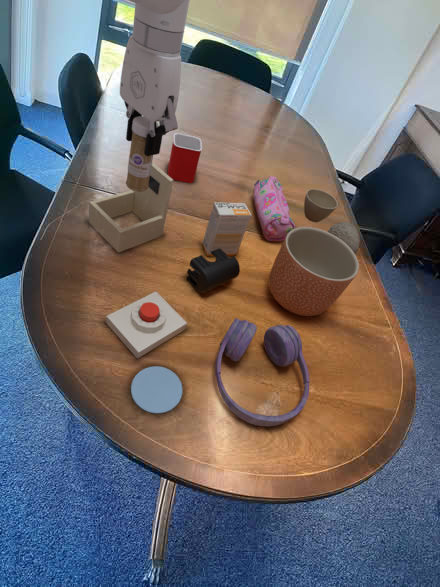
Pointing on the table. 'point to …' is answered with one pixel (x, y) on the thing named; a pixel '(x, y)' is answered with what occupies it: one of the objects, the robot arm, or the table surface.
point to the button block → (145, 325)
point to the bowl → (318, 205)
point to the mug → (184, 157)
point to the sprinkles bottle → (139, 156)
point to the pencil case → (272, 209)
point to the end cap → (212, 271)
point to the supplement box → (226, 227)
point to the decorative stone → (346, 234)
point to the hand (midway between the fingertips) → (142, 146)
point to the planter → (311, 271)
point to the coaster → (156, 390)
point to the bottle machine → (143, 204)
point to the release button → (149, 312)
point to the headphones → (281, 350)
